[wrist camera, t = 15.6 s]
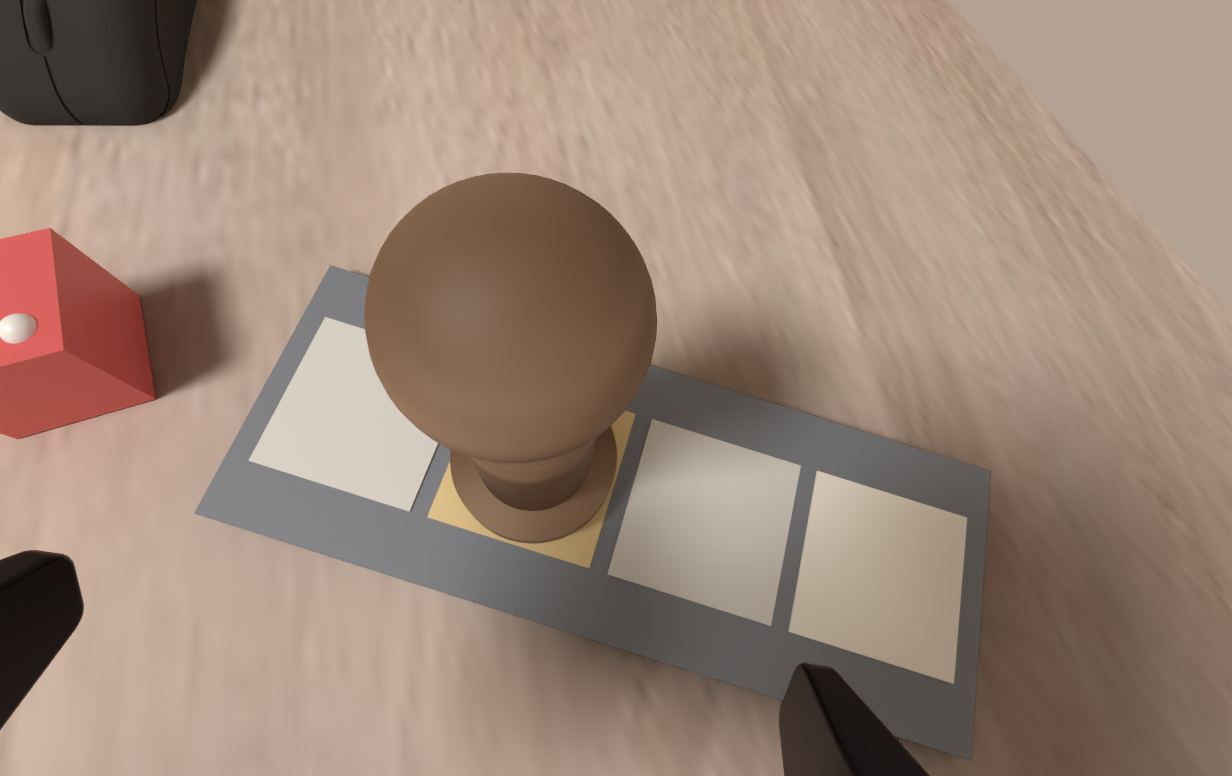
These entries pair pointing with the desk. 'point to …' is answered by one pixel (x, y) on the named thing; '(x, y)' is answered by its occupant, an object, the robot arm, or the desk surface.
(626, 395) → the walnut pawn
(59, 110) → the computer mouse
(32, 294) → the red die
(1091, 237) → the desk surface
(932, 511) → the game track
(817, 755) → the robot arm
